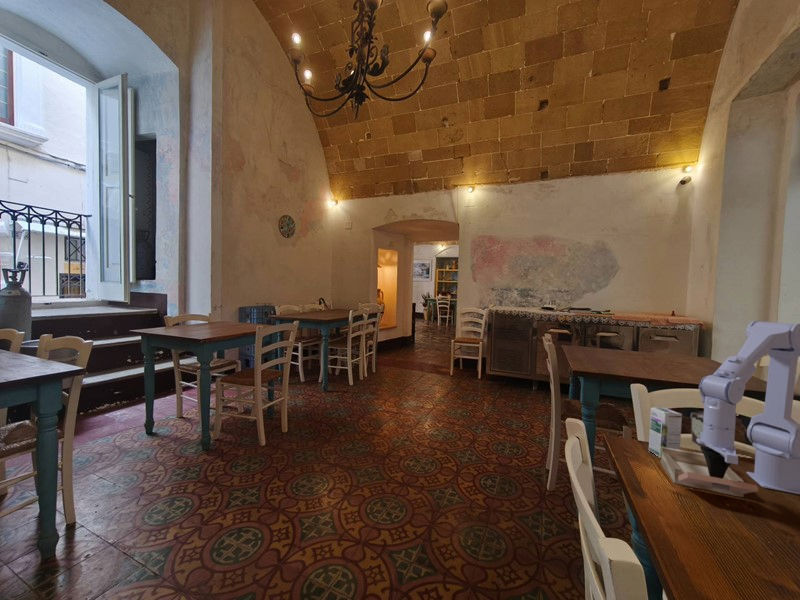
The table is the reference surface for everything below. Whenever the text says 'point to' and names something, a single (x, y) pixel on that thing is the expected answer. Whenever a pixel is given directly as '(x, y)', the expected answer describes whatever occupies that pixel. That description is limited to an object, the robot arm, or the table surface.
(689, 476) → the panel
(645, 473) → the table surface
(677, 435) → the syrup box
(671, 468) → the tray
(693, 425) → the food container
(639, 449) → the table surface
